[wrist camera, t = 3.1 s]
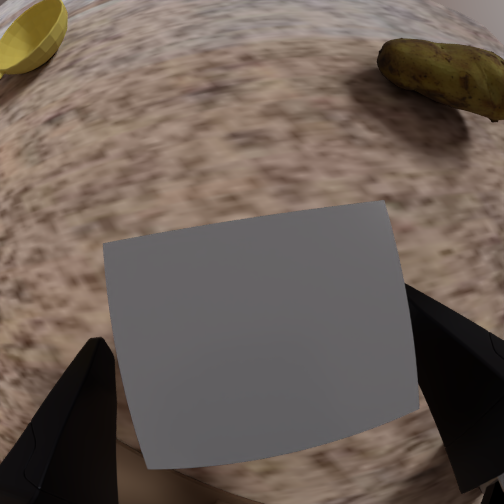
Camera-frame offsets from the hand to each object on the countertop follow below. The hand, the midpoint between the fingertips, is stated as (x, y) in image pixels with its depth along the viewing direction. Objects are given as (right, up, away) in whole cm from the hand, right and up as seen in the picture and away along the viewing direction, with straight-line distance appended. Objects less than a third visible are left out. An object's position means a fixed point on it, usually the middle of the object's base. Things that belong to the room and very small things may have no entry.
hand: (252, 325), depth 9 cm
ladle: (-25, +14, +10) cm, 30 cm away
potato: (+16, +16, +13) cm, 26 cm away
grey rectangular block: (0, -2, +8) cm, 8 cm away
